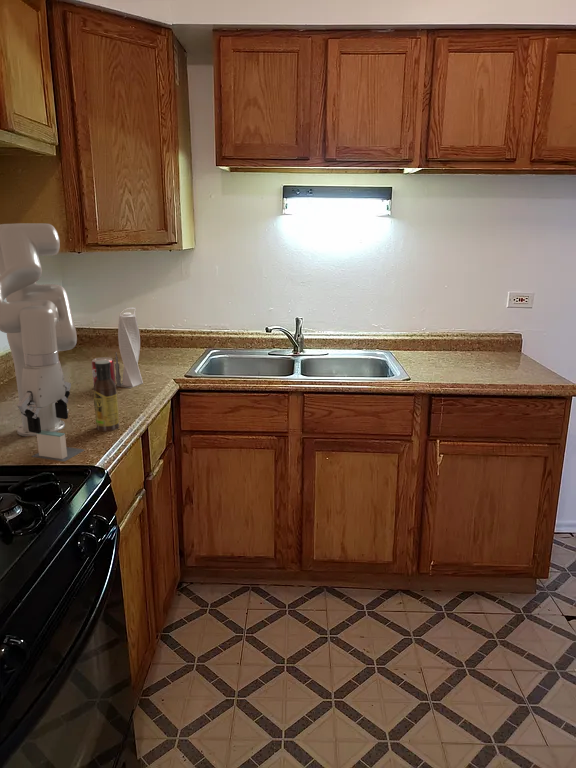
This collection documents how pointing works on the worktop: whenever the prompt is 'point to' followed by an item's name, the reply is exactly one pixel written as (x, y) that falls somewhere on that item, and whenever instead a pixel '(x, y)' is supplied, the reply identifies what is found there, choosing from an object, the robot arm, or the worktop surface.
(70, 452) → the rubber mat
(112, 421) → the sauce bottle
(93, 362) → the soda can
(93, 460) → the worktop surface
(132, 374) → the skyscraper
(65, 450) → the cream tile
